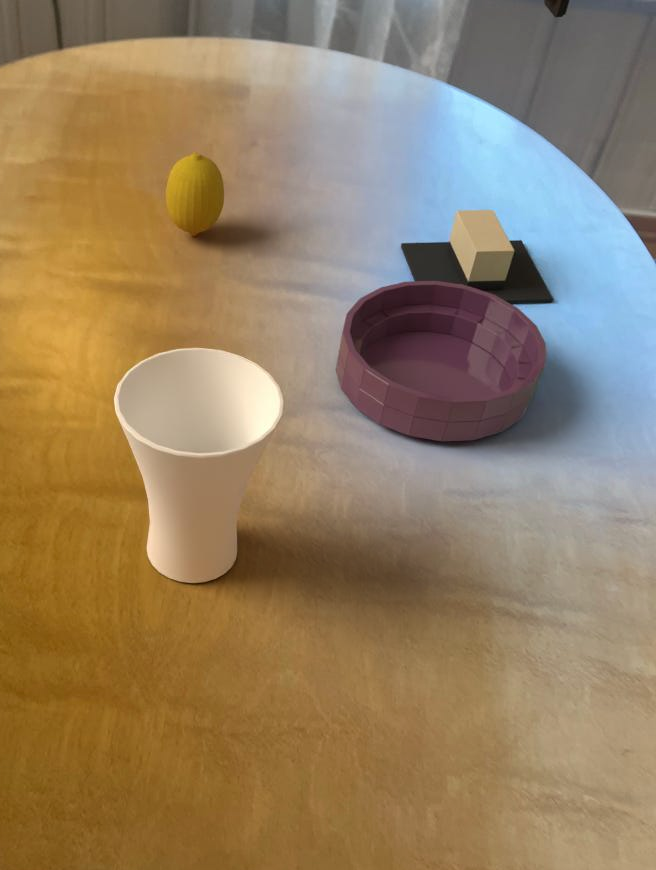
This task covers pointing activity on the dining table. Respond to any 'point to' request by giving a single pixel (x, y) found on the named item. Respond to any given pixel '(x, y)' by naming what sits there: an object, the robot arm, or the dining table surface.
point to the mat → (517, 288)
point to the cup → (196, 451)
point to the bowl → (439, 360)
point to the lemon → (195, 194)
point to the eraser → (480, 249)
